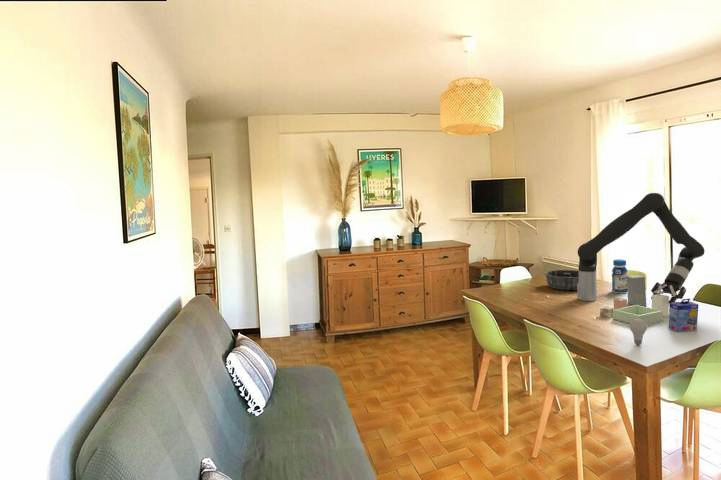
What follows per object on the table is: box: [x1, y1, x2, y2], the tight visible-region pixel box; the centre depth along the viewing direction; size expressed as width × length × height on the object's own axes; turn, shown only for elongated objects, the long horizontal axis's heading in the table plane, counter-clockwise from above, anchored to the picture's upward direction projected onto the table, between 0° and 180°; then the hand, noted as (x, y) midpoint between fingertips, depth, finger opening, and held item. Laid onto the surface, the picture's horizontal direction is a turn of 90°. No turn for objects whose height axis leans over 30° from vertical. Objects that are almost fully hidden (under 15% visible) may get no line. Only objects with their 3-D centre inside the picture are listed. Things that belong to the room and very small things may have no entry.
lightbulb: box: [628, 319, 648, 346], centre depth 176 cm, size 6×6×11 cm
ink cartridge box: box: [668, 298, 699, 333], centre depth 191 cm, size 10×6×14 cm, turn 95°
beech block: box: [599, 305, 614, 319], centre depth 218 cm, size 4×4×4 cm
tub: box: [612, 305, 664, 326], centre depth 209 cm, size 13×16×5 cm
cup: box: [651, 294, 670, 318], centre depth 214 cm, size 5×5×10 cm
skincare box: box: [626, 274, 647, 307], centre depth 236 cm, size 8×7×16 cm
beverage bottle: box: [611, 258, 629, 294], centre depth 264 cm, size 8×8×20 cm
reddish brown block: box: [613, 297, 628, 310], centre depth 222 cm, size 6×6×7 cm
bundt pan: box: [544, 269, 579, 291], centre depth 284 cm, size 26×26×10 cm
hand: (661, 302), depth 214 cm, fingers open, 8 cm apart
